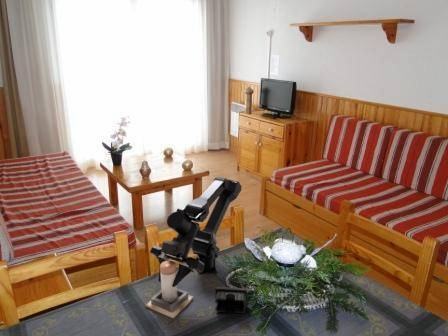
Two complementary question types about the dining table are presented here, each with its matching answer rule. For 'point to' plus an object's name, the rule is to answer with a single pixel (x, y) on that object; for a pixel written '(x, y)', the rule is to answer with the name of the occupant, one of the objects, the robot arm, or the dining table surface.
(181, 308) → the socket plate
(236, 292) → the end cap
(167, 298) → the white bottle
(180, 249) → the robot arm
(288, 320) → the dining table surface
